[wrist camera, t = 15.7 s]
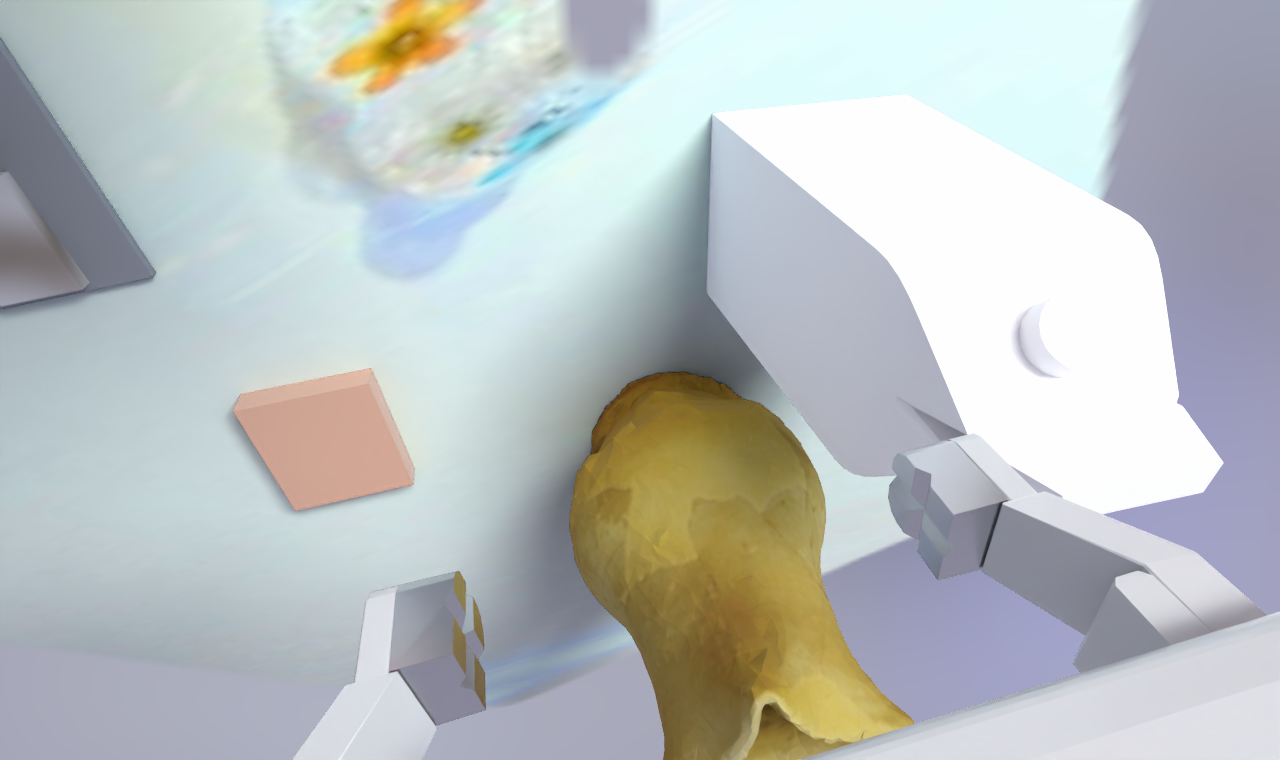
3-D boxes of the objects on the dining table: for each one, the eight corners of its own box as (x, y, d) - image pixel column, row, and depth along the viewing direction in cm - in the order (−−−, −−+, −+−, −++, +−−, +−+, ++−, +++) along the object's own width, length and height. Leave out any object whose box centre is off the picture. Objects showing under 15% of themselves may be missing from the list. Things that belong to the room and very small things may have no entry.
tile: (232, 411, 39) (295, 511, 45) (368, 383, 40) (413, 484, 46) (242, 390, 41) (301, 489, 46) (371, 364, 42) (414, 464, 47)
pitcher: (809, 349, 48) (1021, 679, 29) (733, 516, 59) (850, 837, 40) (579, 330, 43) (648, 708, 24) (543, 516, 54) (572, 878, 35)
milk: (706, 292, 44) (922, 637, 23) (712, 113, 37) (1026, 377, 16) (871, 269, 45) (1207, 570, 25) (906, 94, 39) (1408, 311, 18)
